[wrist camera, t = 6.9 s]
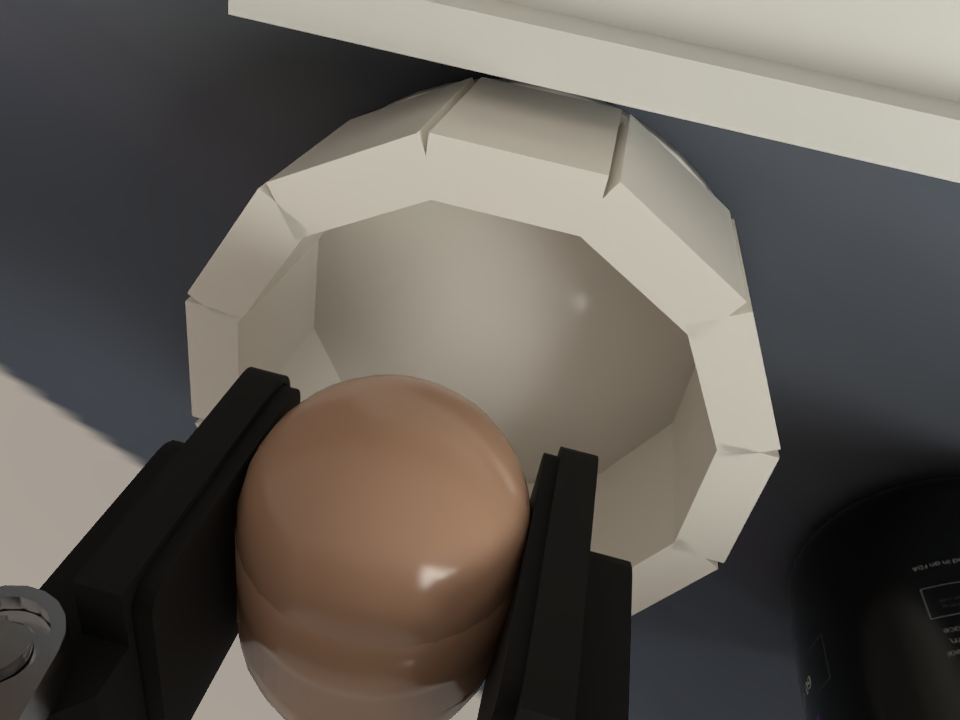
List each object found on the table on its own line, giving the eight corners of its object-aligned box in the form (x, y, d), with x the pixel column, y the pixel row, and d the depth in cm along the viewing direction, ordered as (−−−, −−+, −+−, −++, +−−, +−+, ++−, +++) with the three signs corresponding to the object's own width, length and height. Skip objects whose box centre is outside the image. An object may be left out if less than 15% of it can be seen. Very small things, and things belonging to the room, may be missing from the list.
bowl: (833, 148, 13) (892, 243, 9) (660, 537, 18) (659, 685, 15) (294, 24, 13) (171, 71, 10) (282, 432, 19) (200, 551, 15)
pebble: (309, 293, 10) (162, 472, 7) (574, 359, 10) (540, 574, 7) (297, 554, 13) (191, 758, 10) (501, 610, 13) (454, 836, 10)
